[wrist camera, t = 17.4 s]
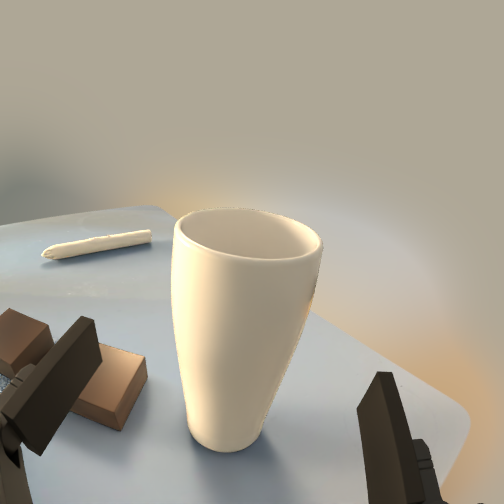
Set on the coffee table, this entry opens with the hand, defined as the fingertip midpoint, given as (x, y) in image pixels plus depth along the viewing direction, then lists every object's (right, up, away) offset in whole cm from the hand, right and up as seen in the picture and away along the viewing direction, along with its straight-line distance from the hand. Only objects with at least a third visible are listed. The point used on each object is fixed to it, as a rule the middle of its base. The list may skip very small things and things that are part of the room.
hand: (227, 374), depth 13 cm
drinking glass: (-1, -7, +7) cm, 10 cm away
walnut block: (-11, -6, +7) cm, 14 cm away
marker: (-22, +5, +29) cm, 37 cm away
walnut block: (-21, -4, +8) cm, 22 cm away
